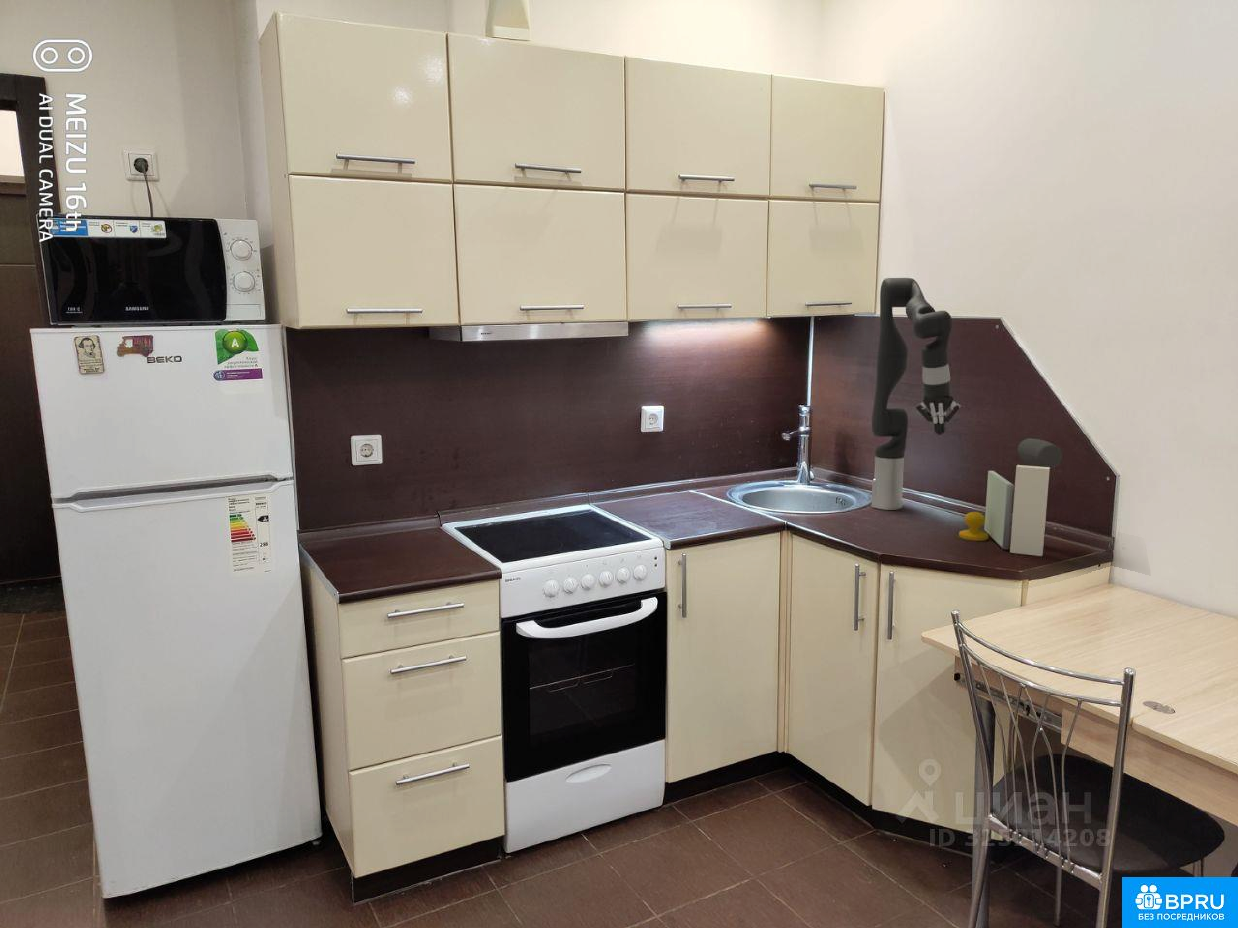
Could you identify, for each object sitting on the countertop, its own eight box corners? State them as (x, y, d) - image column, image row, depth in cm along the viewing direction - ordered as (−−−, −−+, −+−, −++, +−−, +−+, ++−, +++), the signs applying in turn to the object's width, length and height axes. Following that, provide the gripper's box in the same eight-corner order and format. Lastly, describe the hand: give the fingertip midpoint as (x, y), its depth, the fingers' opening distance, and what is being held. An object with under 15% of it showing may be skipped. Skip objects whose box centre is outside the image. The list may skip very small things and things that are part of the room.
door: (983, 529, 264) (987, 470, 261) (990, 529, 264) (994, 470, 261) (1003, 549, 244) (1008, 485, 241) (1010, 549, 244) (1015, 485, 240)
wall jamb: (1009, 552, 243) (1016, 466, 239) (1010, 549, 246) (1017, 464, 241) (1042, 556, 239) (1049, 469, 235) (1042, 553, 242) (1049, 467, 237)
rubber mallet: (1008, 538, 257) (1016, 436, 251) (1033, 538, 257) (1042, 436, 251) (1030, 550, 244) (1038, 443, 239) (1056, 550, 245) (1065, 443, 239)
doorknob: (985, 534, 262) (990, 541, 254) (956, 533, 264) (961, 540, 256) (987, 509, 261) (992, 516, 253) (958, 508, 262) (962, 515, 255)
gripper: (962, 374, 258) (966, 429, 264) (916, 375, 266) (921, 428, 272) (956, 383, 252) (960, 439, 259) (909, 383, 260) (914, 438, 266)
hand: (940, 433), depth 265 cm, fingers closed
